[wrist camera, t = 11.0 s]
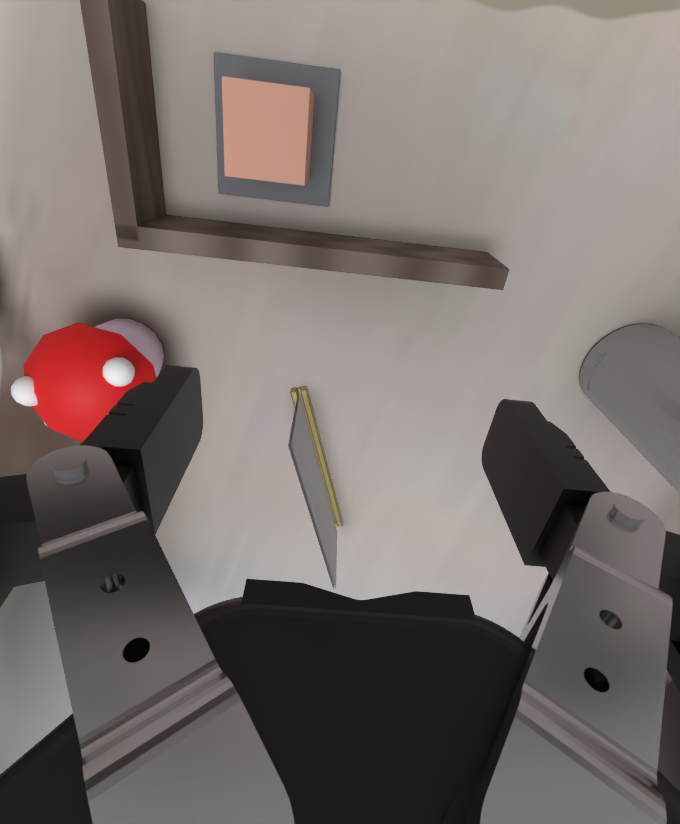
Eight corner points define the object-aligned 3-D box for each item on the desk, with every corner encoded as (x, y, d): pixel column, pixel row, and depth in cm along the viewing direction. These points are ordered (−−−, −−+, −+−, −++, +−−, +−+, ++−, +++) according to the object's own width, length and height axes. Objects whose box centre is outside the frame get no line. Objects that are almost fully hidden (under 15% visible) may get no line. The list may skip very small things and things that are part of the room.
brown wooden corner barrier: (540, 59, 31) (579, 43, 26) (482, 270, 39) (503, 290, 34) (121, 0, 30) (75, -30, 25) (148, 232, 38) (118, 246, 32)
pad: (340, 70, 32) (340, 69, 31) (328, 205, 36) (328, 206, 36) (215, 53, 31) (213, 52, 31) (220, 192, 36) (218, 193, 35)
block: (314, 95, 32) (309, 87, 27) (309, 179, 35) (304, 185, 30) (239, 85, 32) (221, 76, 27) (240, 171, 35) (224, 175, 30)
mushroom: (203, 339, 43) (159, 401, 33) (159, 415, 48) (109, 490, 37) (97, 276, 40) (12, 322, 29) (61, 364, 44) (-23, 430, 34)
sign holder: (342, 522, 56) (342, 589, 48) (329, 523, 57) (327, 591, 48) (306, 385, 46) (298, 440, 37) (290, 387, 46) (278, 443, 37)
